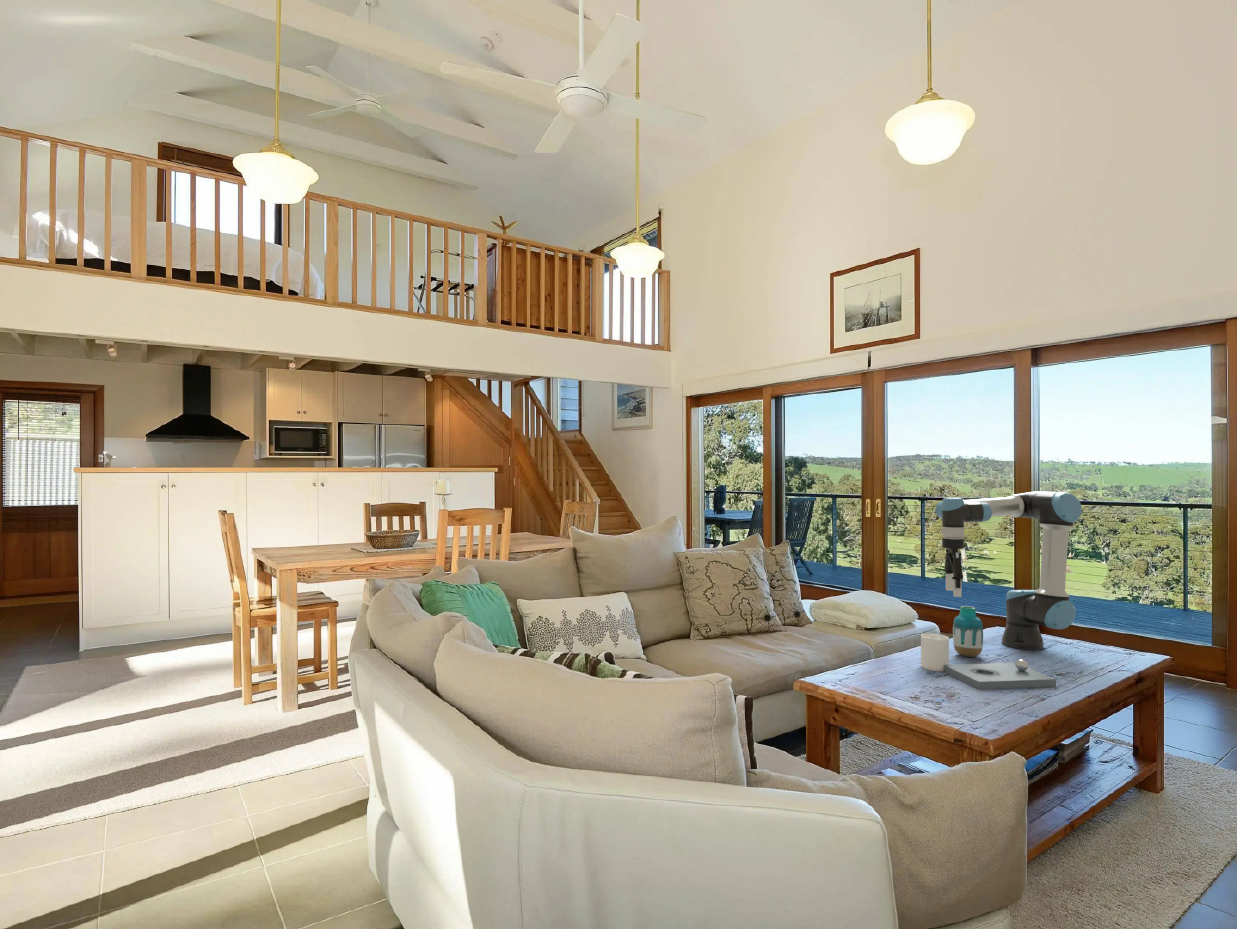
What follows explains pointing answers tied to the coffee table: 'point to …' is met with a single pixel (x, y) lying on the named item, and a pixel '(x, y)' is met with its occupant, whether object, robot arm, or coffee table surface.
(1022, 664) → the ball
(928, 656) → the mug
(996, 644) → the coffee table surface
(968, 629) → the vase
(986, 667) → the grey plate with hole
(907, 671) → the coffee table surface
